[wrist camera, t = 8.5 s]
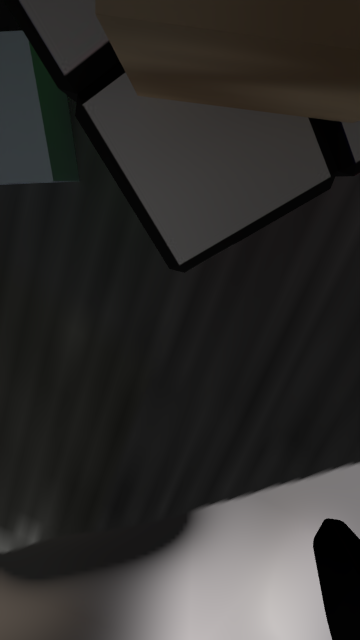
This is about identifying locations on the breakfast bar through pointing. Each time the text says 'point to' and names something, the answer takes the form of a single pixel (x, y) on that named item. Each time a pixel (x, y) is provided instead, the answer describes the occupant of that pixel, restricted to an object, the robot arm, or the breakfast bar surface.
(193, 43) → the oak block
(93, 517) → the breakfast bar surface
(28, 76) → the gray and green box
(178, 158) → the puzzle cube
